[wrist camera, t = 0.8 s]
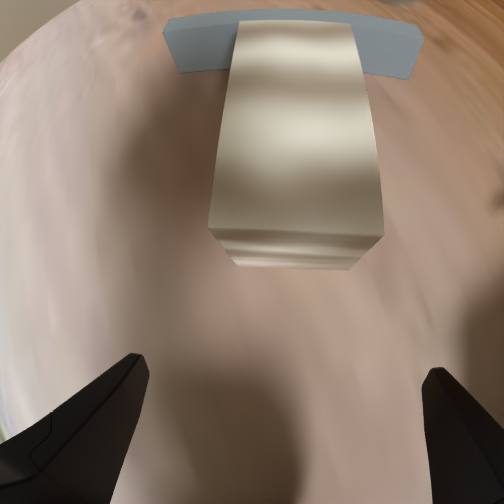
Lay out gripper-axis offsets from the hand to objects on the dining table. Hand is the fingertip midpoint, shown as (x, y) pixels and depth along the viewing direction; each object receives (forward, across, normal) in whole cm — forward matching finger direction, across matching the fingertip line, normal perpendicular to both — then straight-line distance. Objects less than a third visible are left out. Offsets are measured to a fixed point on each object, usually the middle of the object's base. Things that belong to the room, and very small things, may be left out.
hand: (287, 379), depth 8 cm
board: (+28, 0, -12) cm, 30 cm away
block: (+19, 0, -2) cm, 19 cm away
